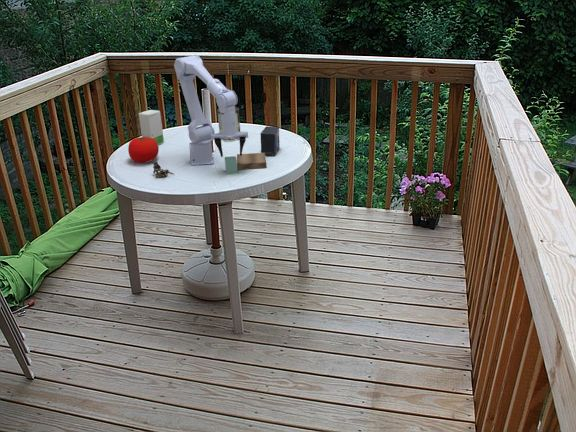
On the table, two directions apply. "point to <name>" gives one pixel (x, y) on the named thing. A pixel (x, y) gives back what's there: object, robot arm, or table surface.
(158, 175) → the gnarled brown figurine
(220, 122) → the coffee can
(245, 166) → the walnut slab
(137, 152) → the tomato
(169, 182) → the table surface
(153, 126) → the skincare box
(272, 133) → the small box
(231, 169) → the teal block
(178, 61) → the robot arm
